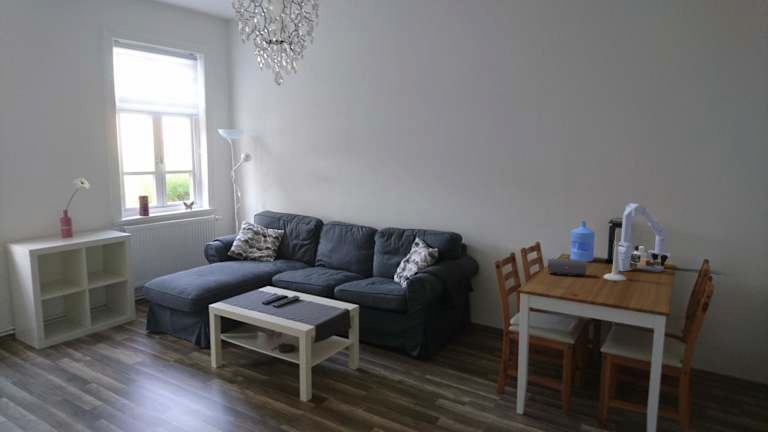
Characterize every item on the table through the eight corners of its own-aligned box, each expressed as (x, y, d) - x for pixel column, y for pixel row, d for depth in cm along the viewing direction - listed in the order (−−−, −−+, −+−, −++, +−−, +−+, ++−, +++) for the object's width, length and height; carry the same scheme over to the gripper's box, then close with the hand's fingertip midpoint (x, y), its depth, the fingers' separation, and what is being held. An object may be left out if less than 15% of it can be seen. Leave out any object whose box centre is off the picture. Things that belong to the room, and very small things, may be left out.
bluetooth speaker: (547, 275, 312) (548, 259, 311) (547, 271, 321) (548, 256, 320) (586, 277, 305) (586, 261, 303) (585, 274, 313) (585, 258, 312)
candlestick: (629, 281, 295) (631, 231, 291) (606, 280, 298) (608, 231, 294) (623, 276, 308) (625, 228, 304) (601, 275, 310) (603, 228, 306)
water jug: (577, 256, 366) (578, 219, 362) (597, 259, 354) (599, 221, 351) (566, 259, 356) (567, 221, 353) (586, 263, 344) (588, 223, 341)
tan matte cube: (657, 266, 331) (658, 259, 331) (663, 267, 328) (664, 260, 327) (653, 267, 329) (654, 260, 328) (659, 268, 326) (659, 261, 325)
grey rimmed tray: (663, 270, 320) (664, 261, 319) (657, 272, 316) (657, 263, 316) (643, 266, 332) (643, 257, 331) (636, 267, 328) (637, 259, 328)
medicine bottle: (630, 262, 345) (631, 245, 343) (637, 261, 348) (637, 244, 347) (639, 264, 339) (640, 247, 337) (646, 263, 342) (647, 246, 340)
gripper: (674, 246, 322) (673, 266, 324) (653, 243, 335) (652, 262, 337) (668, 247, 319) (666, 268, 321) (647, 244, 332) (645, 264, 333)
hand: (659, 265), depth 328 cm, fingers closed on tan matte cube, 4 cm apart
